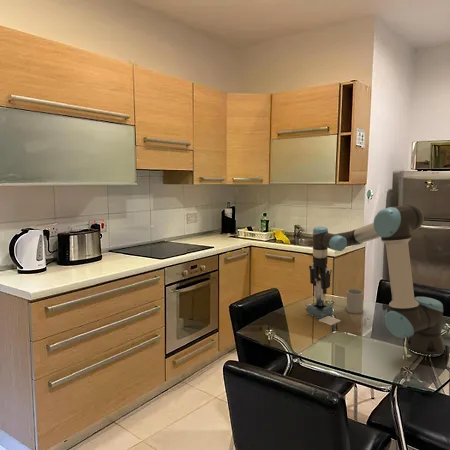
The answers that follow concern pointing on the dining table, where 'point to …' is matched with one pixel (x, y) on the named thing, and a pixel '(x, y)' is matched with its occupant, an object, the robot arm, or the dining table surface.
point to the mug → (354, 301)
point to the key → (319, 292)
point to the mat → (329, 320)
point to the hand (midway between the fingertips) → (319, 298)
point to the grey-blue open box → (319, 310)
